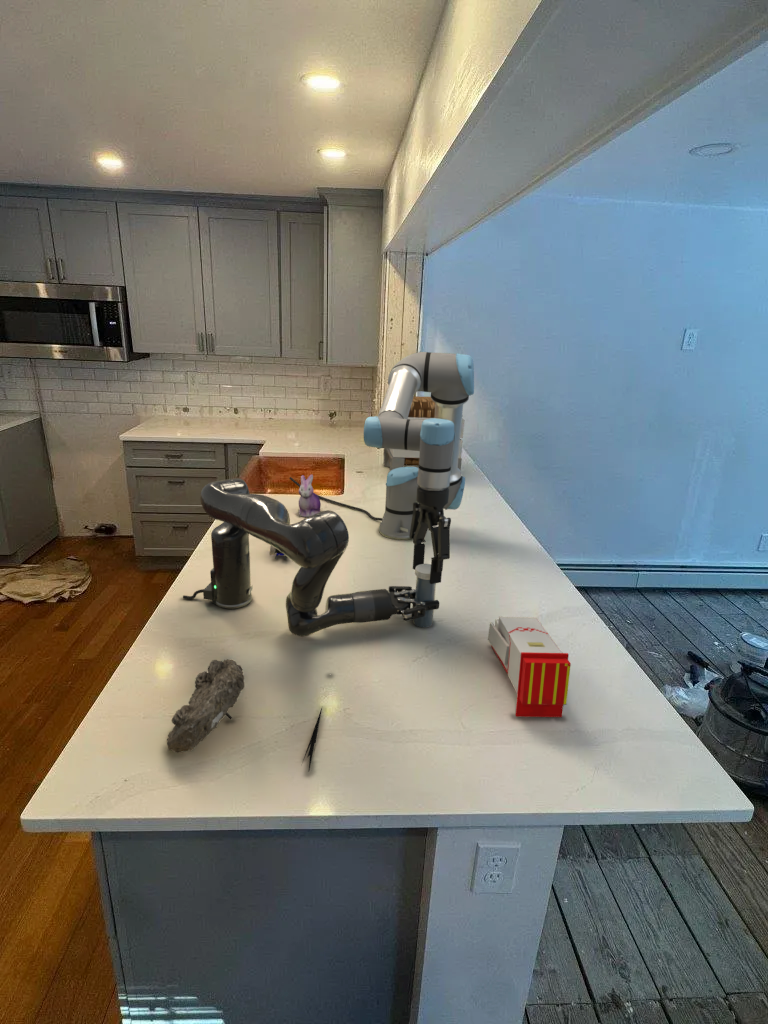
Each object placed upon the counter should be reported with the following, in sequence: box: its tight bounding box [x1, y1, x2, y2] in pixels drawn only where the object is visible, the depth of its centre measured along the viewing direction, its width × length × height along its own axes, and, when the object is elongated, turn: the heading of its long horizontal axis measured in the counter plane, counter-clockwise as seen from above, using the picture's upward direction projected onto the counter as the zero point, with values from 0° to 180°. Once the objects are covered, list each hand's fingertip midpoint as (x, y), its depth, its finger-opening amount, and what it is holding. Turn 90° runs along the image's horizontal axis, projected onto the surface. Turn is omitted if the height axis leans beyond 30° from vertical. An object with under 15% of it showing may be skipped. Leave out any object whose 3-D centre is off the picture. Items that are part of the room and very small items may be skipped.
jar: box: [412, 575, 437, 628], centre depth 142 cm, size 5×5×15 cm
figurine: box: [298, 474, 322, 518], centre depth 213 cm, size 9×10×15 cm
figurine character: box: [269, 545, 288, 560], centre depth 179 cm, size 7×8×15 cm
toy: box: [487, 616, 572, 718], centre depth 123 cm, size 12×13×30 cm
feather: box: [301, 673, 332, 771], centre depth 108 cm, size 2×28×2 cm
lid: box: [414, 563, 431, 580], centre depth 139 cm, size 6×6×2 cm
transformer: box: [383, 395, 465, 472], centre depth 268 cm, size 34×33×41 cm
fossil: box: [166, 658, 245, 754], centre depth 106 cm, size 22×10×15 cm
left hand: (434, 599), depth 143 cm, fingers closed on jar, 5 cm apart
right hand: (426, 575), depth 139 cm, fingers open, 8 cm apart
